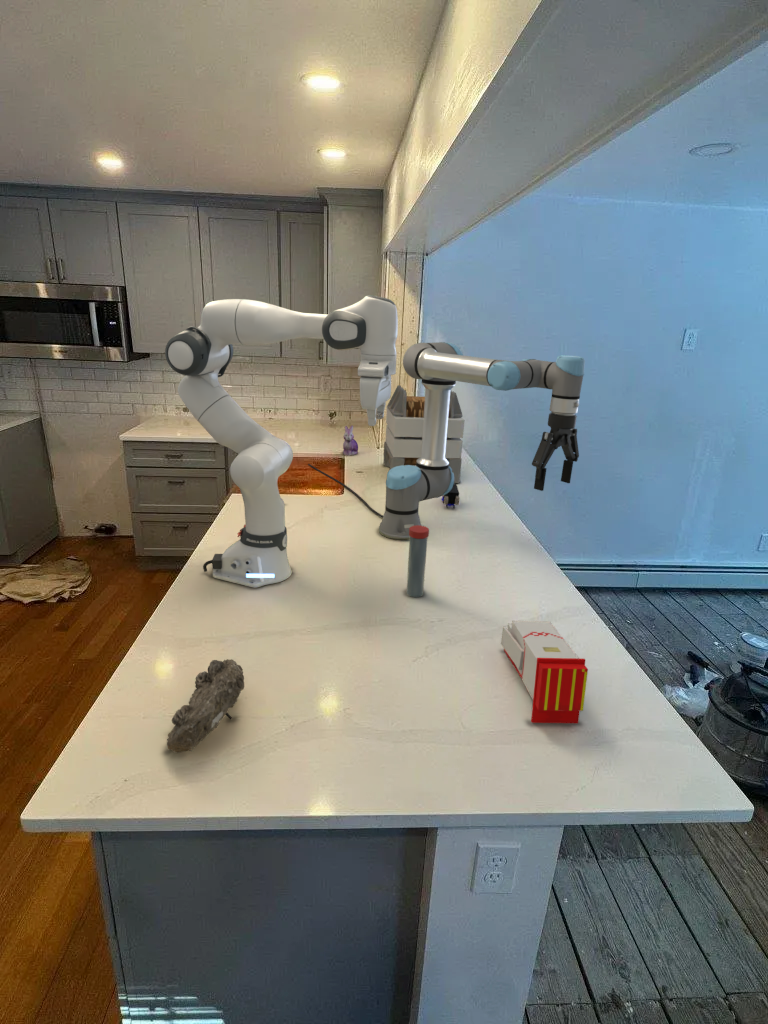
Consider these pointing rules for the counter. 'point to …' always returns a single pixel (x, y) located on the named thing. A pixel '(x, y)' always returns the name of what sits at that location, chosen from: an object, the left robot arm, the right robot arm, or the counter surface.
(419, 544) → the grey cylinder
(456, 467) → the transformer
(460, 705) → the counter surface
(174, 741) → the fossil
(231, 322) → the left robot arm
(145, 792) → the counter surface
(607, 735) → the counter surface
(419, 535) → the lid
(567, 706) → the toy
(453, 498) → the figurine character
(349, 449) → the figurine
